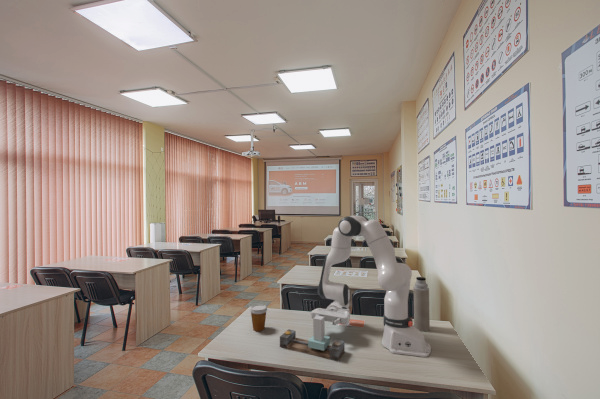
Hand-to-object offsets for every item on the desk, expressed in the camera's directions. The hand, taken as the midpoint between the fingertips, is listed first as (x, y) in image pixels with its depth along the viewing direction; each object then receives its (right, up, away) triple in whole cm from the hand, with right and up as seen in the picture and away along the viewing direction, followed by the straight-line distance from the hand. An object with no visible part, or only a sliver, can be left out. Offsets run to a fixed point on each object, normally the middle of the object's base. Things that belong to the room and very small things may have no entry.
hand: (324, 321), depth 143 cm
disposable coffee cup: (-35, -12, +18) cm, 42 cm away
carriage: (-3, -8, -7) cm, 11 cm away
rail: (-7, -11, -5) cm, 14 cm away
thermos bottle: (+55, -11, +16) cm, 59 cm away
